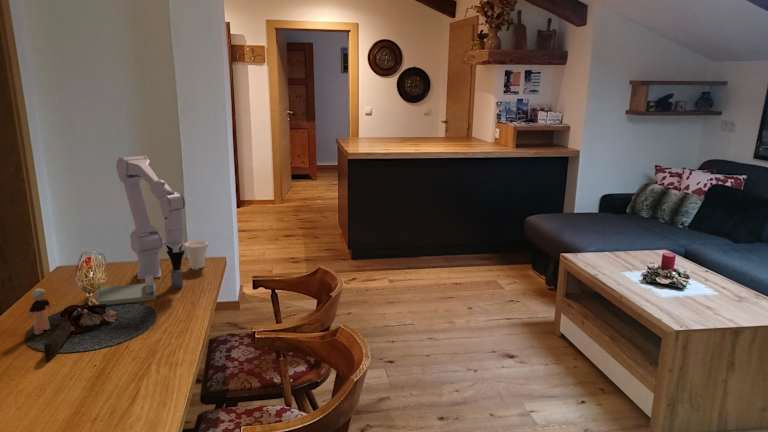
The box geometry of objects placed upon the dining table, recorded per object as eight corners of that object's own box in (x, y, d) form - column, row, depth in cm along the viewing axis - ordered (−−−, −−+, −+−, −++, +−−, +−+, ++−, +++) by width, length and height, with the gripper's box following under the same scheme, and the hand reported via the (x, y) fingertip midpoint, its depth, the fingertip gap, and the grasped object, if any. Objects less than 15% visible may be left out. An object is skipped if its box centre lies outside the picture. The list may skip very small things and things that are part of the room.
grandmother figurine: (41, 336, 154) (36, 293, 151) (27, 335, 154) (22, 293, 151) (57, 324, 162) (53, 283, 159) (44, 324, 162) (39, 283, 159)
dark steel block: (171, 285, 196) (170, 269, 194) (182, 284, 197) (181, 268, 195) (172, 289, 192) (171, 272, 191) (182, 288, 193) (181, 271, 192)
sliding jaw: (145, 283, 191) (145, 275, 190) (153, 282, 192) (153, 274, 191) (145, 293, 182) (145, 285, 181) (153, 293, 183) (153, 284, 182)
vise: (91, 292, 186) (90, 279, 185) (155, 286, 194) (154, 273, 193) (87, 306, 175) (86, 292, 174) (155, 299, 182) (155, 285, 181)
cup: (184, 264, 217) (183, 240, 215) (209, 263, 220) (208, 239, 218) (183, 272, 209) (182, 246, 207) (209, 270, 212) (208, 245, 209)
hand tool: (61, 331, 158) (59, 316, 157) (76, 330, 159) (75, 315, 158) (35, 364, 140) (32, 347, 139) (52, 363, 141) (50, 346, 140)
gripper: (160, 224, 194) (162, 261, 198) (162, 235, 182) (164, 274, 185) (181, 223, 197) (183, 259, 200) (184, 233, 184) (187, 272, 187)
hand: (176, 266), depth 193 cm, fingers open, 7 cm apart
